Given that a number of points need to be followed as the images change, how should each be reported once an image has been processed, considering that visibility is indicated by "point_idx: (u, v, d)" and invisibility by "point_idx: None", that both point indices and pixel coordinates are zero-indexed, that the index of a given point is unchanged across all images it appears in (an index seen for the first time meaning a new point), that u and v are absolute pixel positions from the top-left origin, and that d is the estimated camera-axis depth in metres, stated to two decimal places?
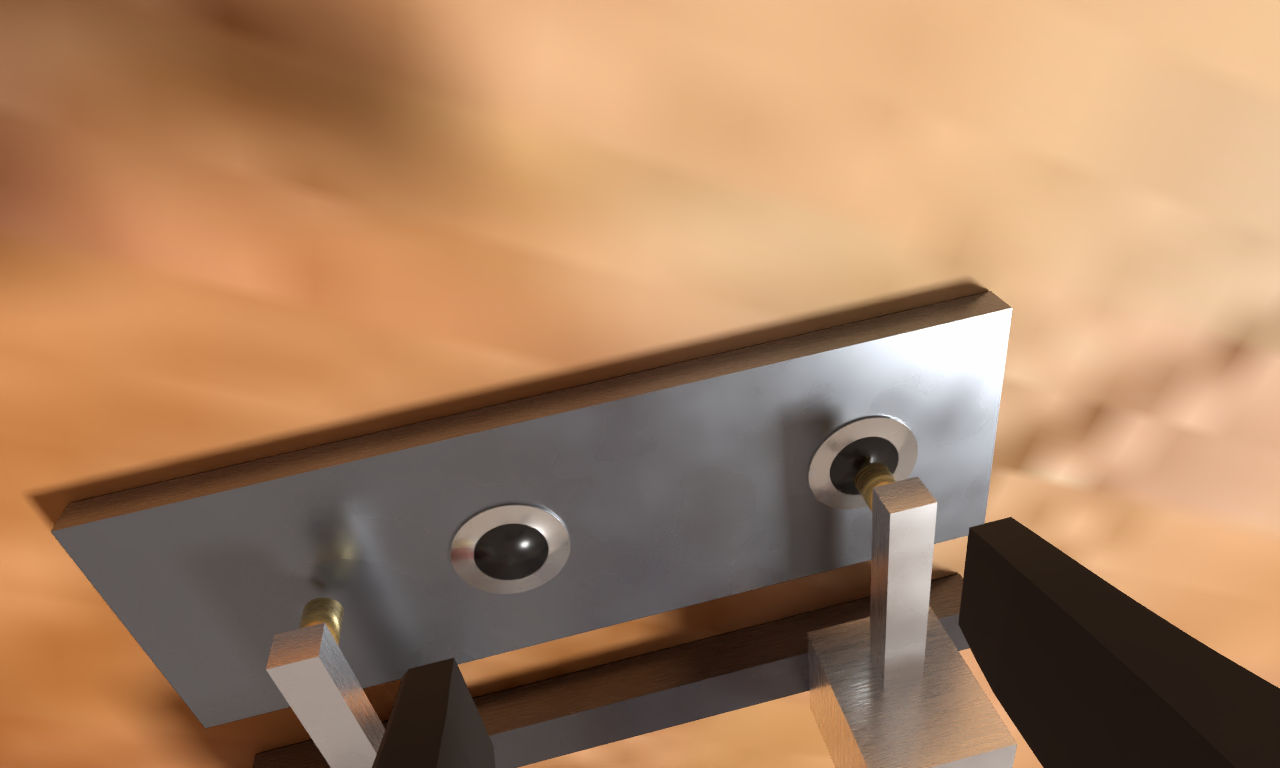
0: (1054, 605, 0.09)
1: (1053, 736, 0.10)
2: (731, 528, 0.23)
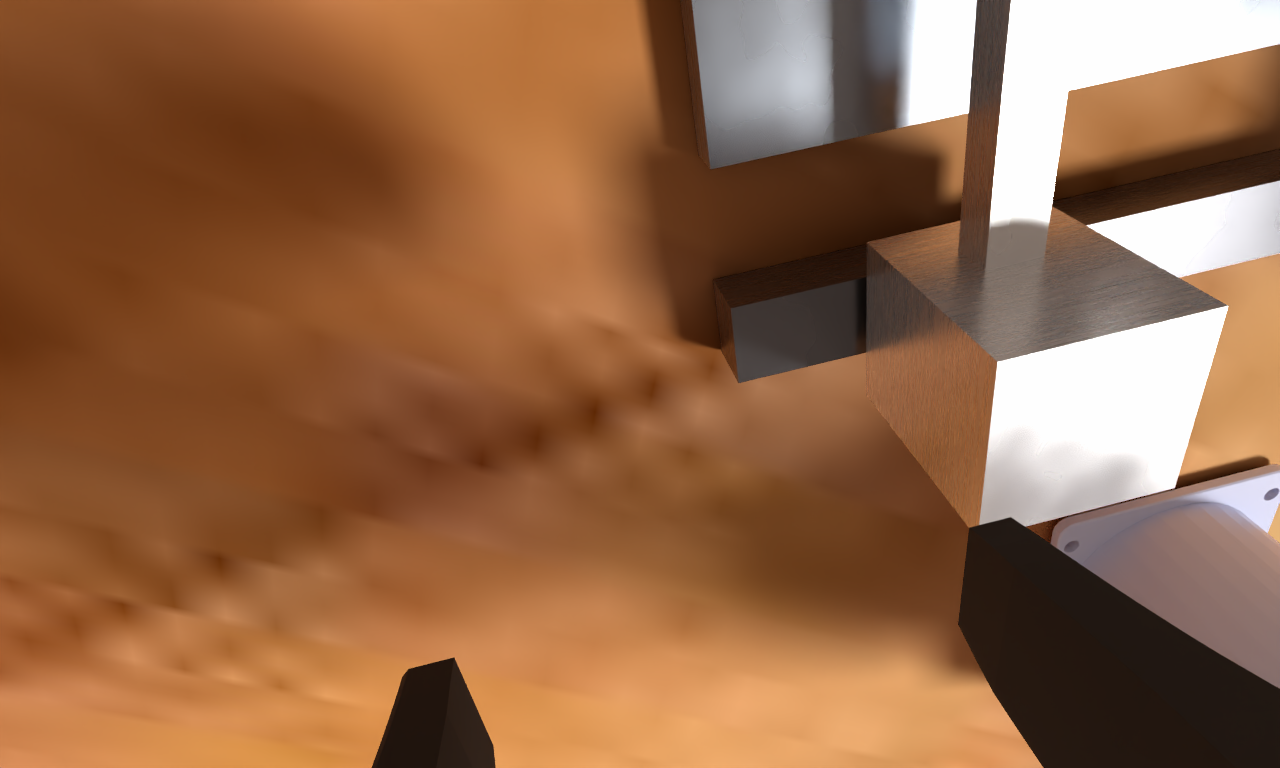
0: (1054, 605, 0.09)
1: (1053, 736, 0.10)
2: None
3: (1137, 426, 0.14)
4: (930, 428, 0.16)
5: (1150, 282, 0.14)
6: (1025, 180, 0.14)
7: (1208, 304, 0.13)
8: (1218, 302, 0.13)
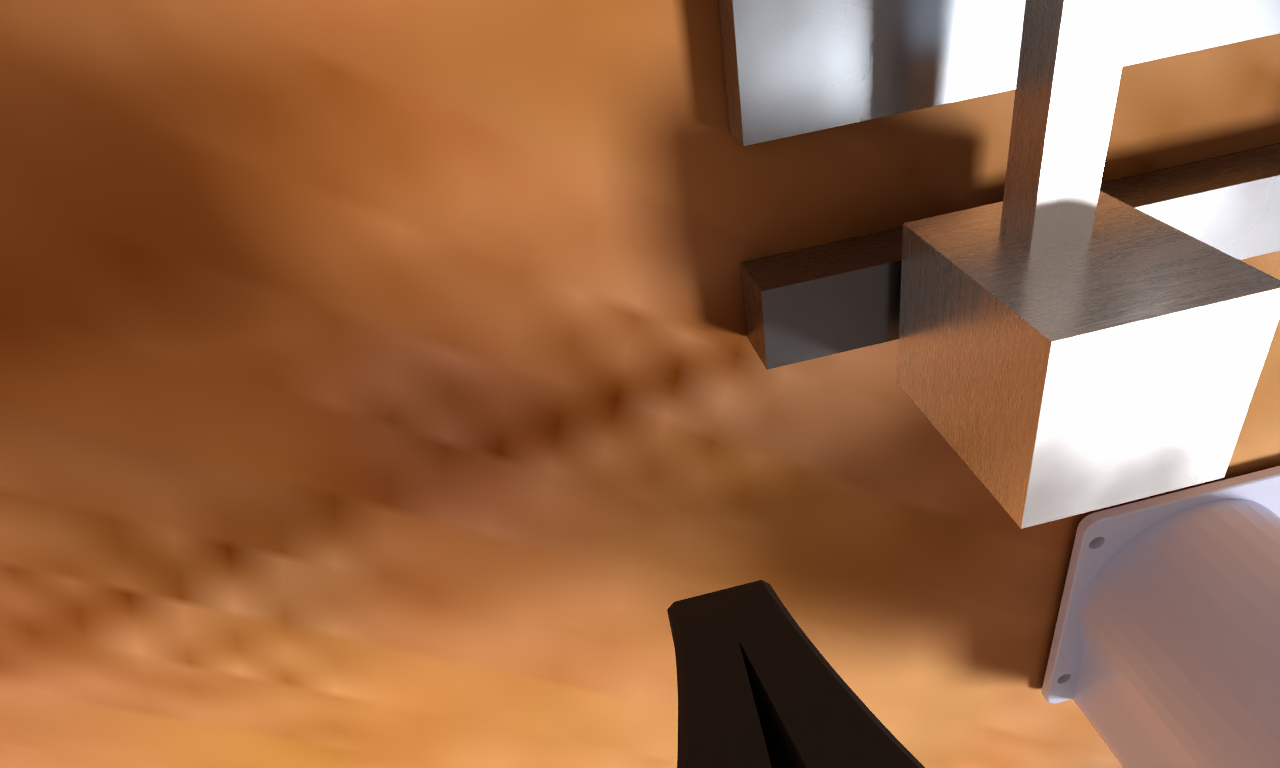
0: (761, 682, 0.09)
1: None
2: None
3: (1190, 412, 0.14)
4: (970, 415, 0.15)
5: (1205, 262, 0.13)
6: (1075, 156, 0.14)
7: (1269, 284, 0.13)
8: (1279, 282, 0.13)
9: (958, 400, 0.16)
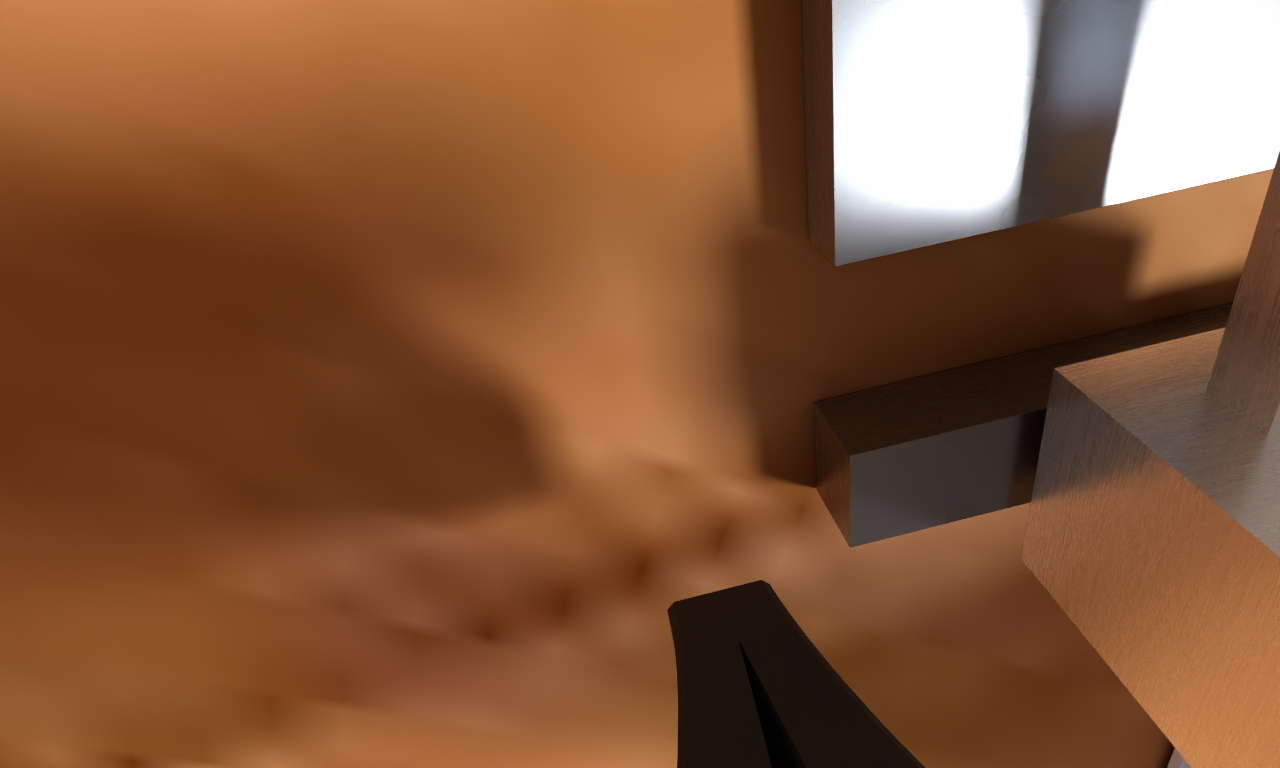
0: (761, 682, 0.09)
1: None
2: None
3: None
4: (1164, 658, 0.11)
5: None
6: None
7: None
8: None
9: (1141, 629, 0.11)
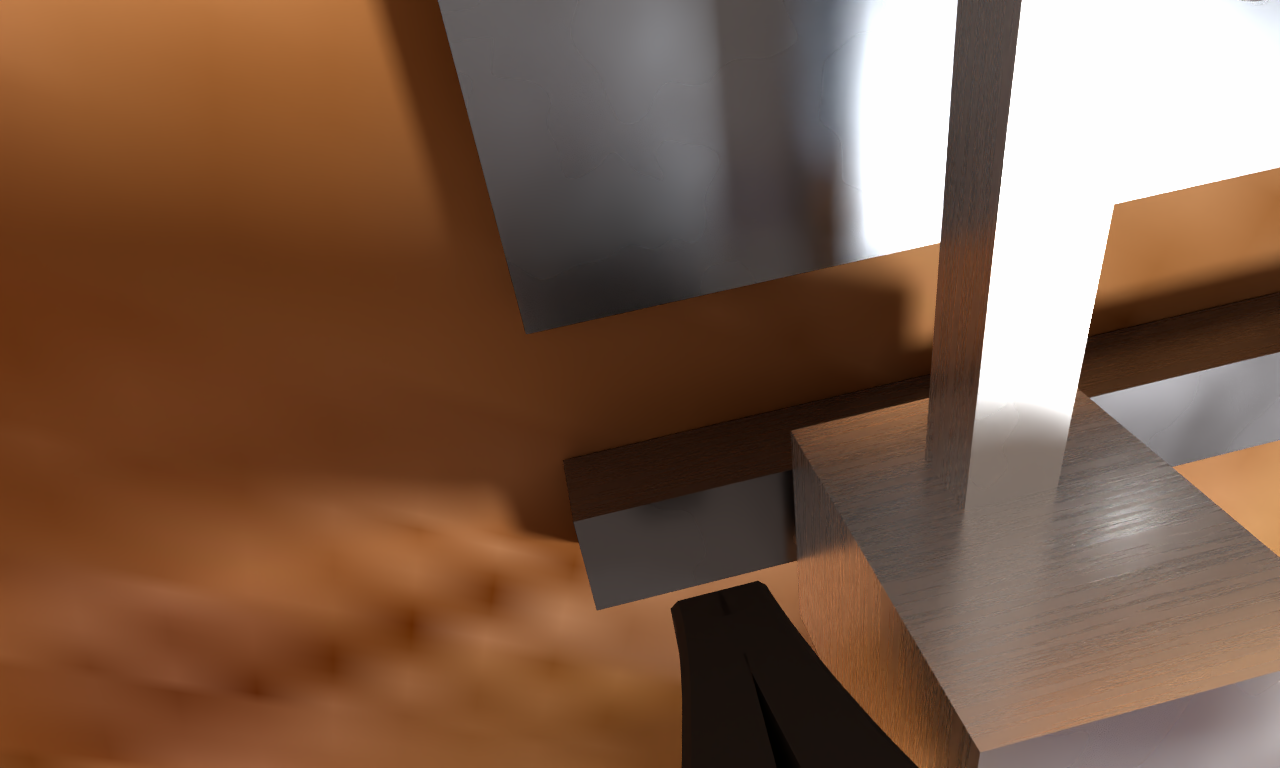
0: (757, 683, 0.09)
1: None
2: None
3: None
4: None
5: (1235, 566, 0.08)
6: (1030, 387, 0.09)
7: None
8: None
9: (865, 703, 0.11)
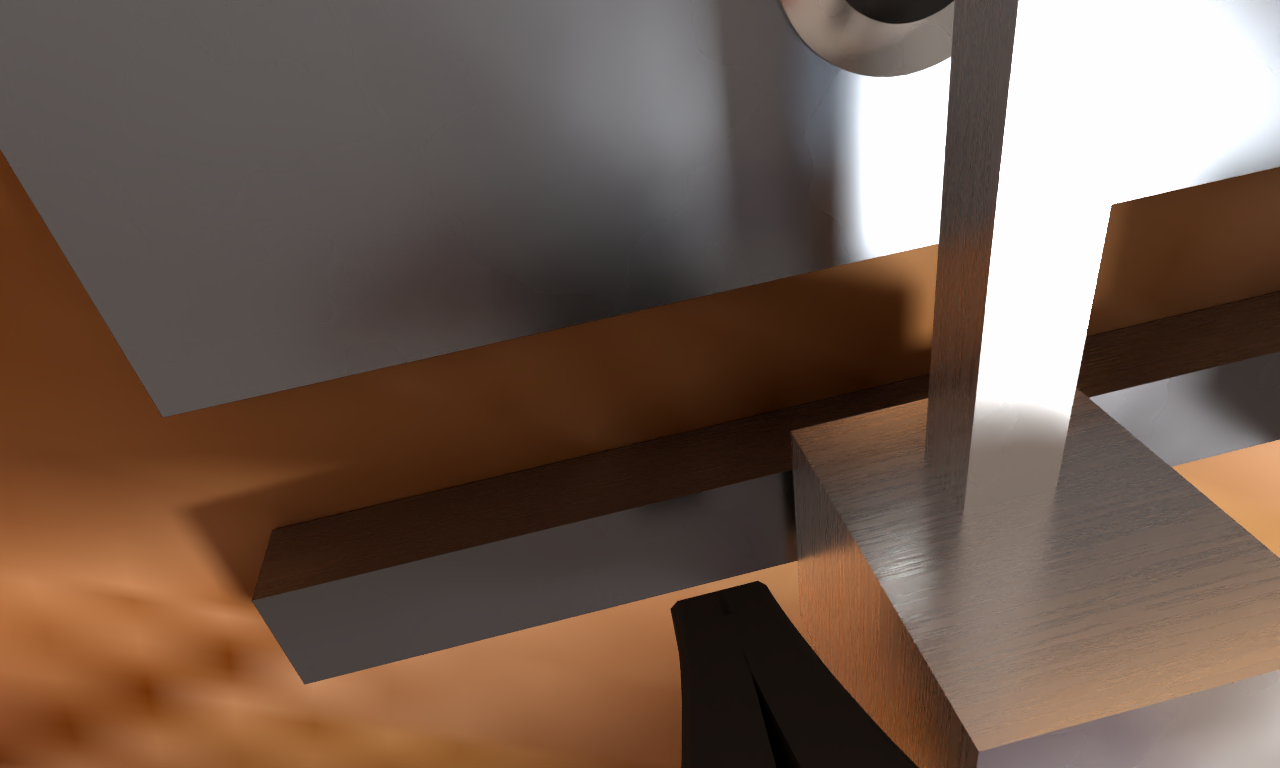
0: (757, 683, 0.09)
1: None
2: None
3: None
4: None
5: (1233, 565, 0.08)
6: (1028, 386, 0.09)
7: None
8: None
9: (865, 703, 0.11)
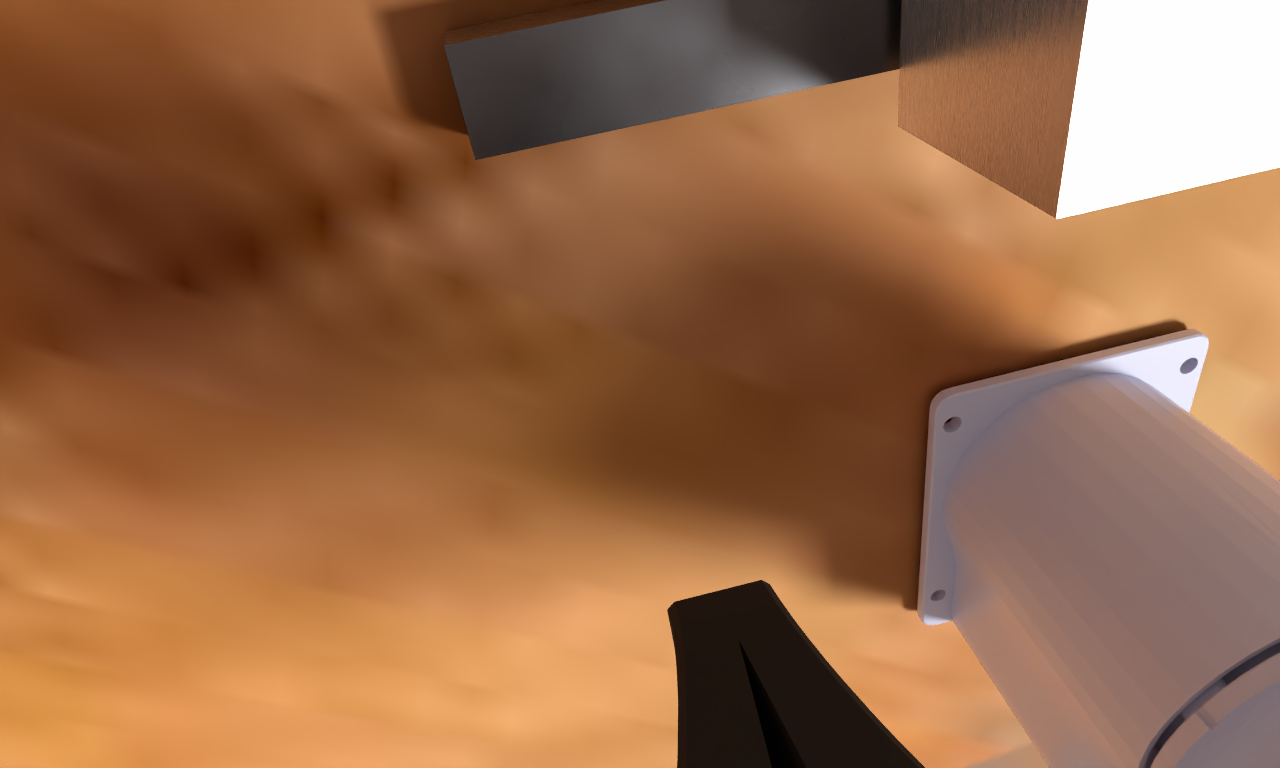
0: (761, 682, 0.09)
1: None
2: None
3: (1275, 43, 0.11)
4: (989, 100, 0.12)
5: None
6: None
7: None
8: None
9: (974, 90, 0.13)
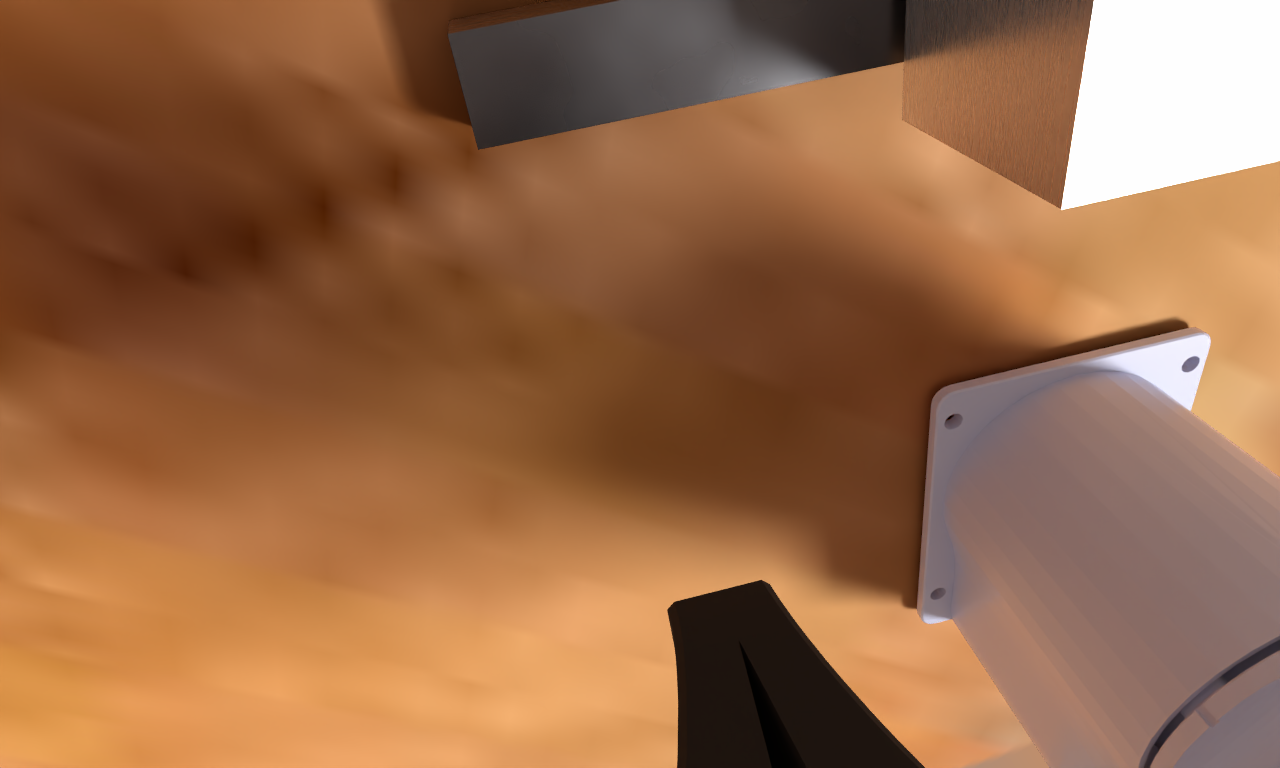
0: (761, 682, 0.09)
1: None
2: None
3: None
4: (994, 91, 0.12)
5: None
6: None
7: None
8: None
9: (979, 82, 0.13)
